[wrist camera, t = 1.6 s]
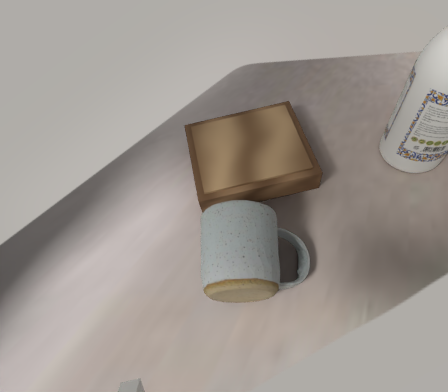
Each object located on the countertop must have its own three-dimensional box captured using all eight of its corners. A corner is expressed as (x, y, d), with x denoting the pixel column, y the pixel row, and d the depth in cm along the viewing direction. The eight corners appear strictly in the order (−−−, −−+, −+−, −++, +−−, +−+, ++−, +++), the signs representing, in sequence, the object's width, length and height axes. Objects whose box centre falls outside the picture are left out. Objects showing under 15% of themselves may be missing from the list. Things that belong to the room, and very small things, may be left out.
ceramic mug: (207, 308, 31) (193, 287, 25) (207, 233, 36) (195, 199, 29) (314, 302, 31) (329, 279, 24) (301, 227, 35) (310, 189, 28)
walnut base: (203, 214, 37) (198, 200, 34) (189, 140, 43) (184, 123, 41) (318, 187, 37) (322, 171, 34) (287, 117, 44) (289, 99, 41)
